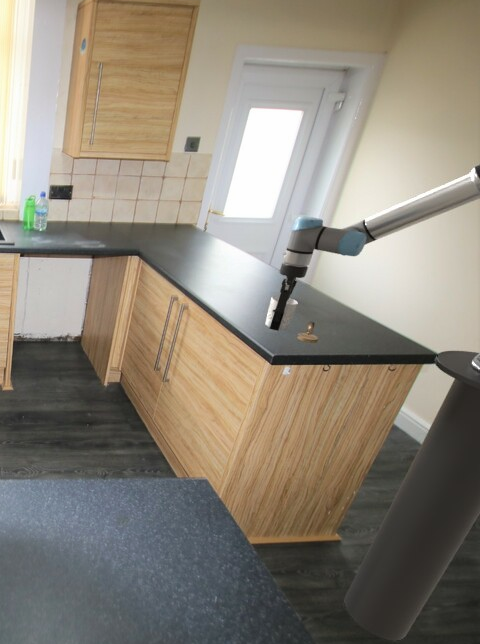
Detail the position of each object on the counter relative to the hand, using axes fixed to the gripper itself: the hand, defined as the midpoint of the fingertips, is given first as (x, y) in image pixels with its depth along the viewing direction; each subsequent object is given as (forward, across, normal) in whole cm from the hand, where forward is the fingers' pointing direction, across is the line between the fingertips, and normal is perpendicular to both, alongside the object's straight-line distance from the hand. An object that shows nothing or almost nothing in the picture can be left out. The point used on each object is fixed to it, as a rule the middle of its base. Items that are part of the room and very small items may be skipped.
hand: (275, 325), depth 168 cm
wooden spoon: (0, -1, +10) cm, 10 cm away
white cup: (0, 0, 0) cm, 0 cm away
